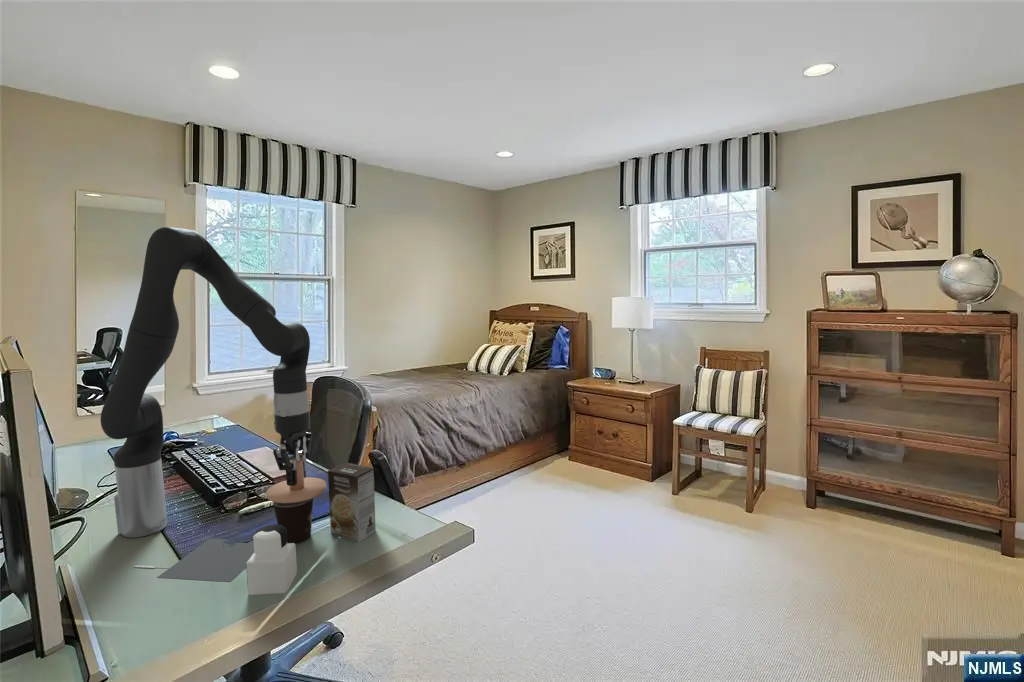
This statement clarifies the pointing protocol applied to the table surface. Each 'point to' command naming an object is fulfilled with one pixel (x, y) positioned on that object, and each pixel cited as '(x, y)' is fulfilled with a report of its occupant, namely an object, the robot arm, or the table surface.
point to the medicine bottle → (271, 561)
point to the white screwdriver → (148, 567)
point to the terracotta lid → (297, 488)
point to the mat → (212, 562)
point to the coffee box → (352, 501)
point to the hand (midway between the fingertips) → (296, 481)
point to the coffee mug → (295, 519)
